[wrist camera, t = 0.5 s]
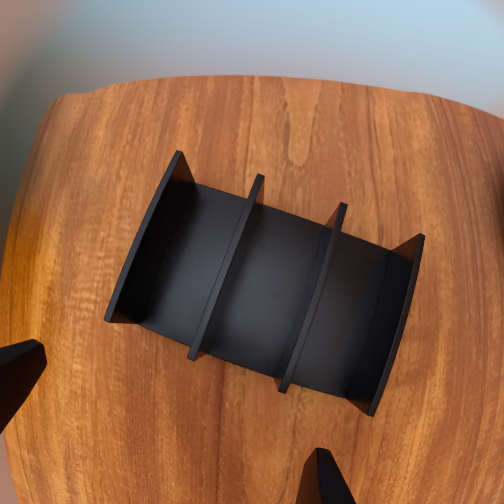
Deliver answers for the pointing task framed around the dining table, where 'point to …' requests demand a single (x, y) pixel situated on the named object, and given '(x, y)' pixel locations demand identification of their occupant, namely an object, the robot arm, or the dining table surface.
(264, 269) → the book rack
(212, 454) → the dining table surface
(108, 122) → the dining table surface
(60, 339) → the dining table surface
